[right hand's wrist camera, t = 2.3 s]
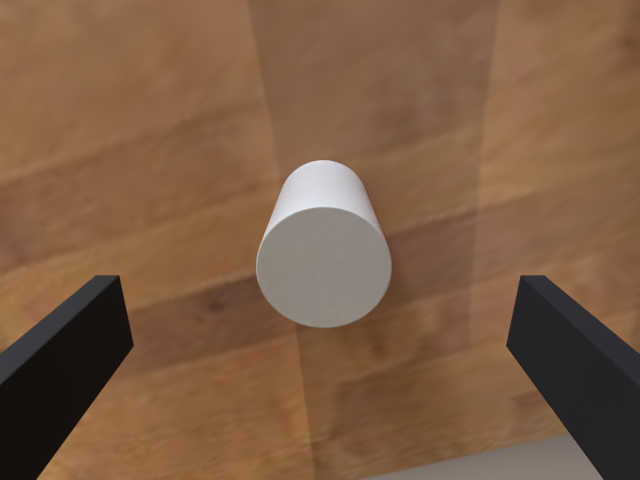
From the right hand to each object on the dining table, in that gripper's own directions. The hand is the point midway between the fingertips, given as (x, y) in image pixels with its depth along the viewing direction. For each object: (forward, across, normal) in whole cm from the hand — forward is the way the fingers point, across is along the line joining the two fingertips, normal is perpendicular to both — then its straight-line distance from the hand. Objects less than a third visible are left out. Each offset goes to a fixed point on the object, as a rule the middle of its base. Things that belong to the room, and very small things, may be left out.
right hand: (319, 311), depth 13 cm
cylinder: (+11, 0, +1) cm, 11 cm away
